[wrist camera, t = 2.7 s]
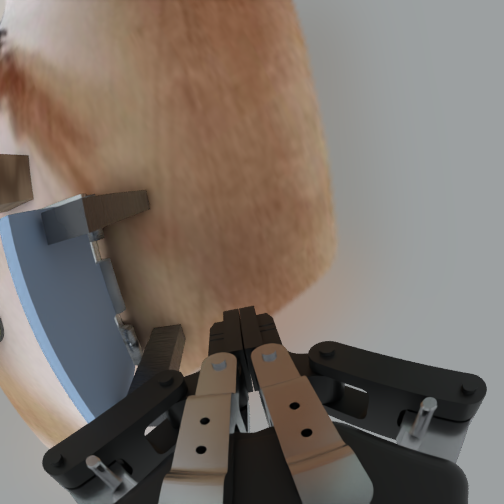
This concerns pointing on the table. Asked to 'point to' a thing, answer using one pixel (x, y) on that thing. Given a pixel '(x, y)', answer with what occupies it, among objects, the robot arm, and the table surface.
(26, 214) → the pale blue flat slab
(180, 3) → the table surface
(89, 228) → the base leaf
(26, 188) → the block
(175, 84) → the table surface
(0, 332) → the thermos
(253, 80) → the table surface
